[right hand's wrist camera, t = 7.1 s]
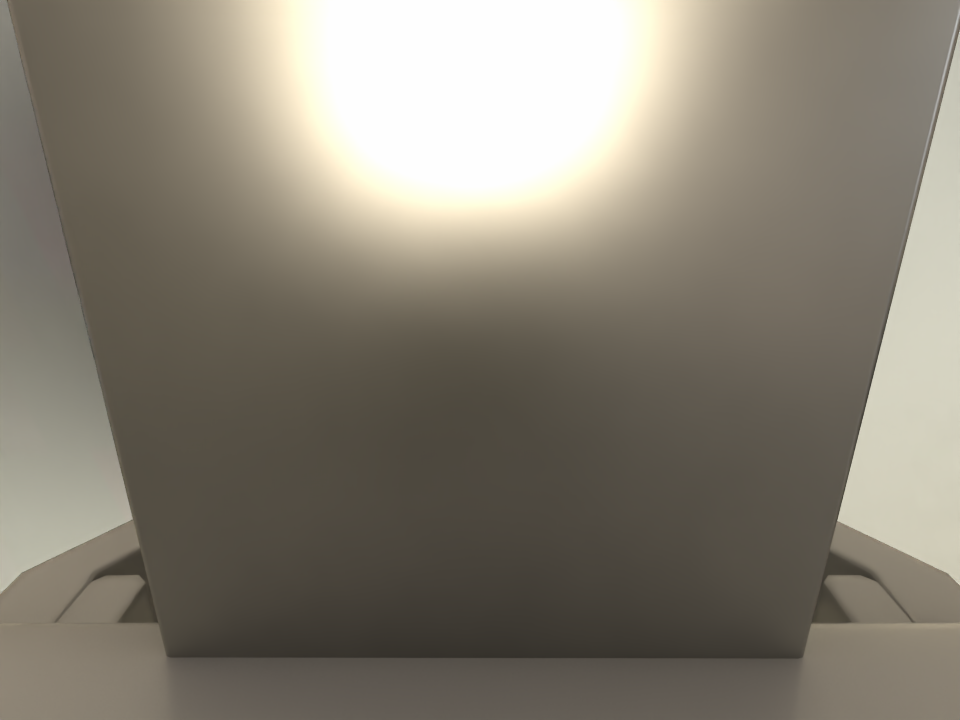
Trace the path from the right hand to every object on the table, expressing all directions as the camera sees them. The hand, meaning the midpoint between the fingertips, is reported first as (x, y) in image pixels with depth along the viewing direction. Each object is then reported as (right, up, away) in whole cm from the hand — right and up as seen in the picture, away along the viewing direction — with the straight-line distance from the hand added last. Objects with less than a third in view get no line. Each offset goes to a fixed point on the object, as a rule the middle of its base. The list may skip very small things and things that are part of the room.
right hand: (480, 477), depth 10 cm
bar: (0, +10, 0) cm, 10 cm away
